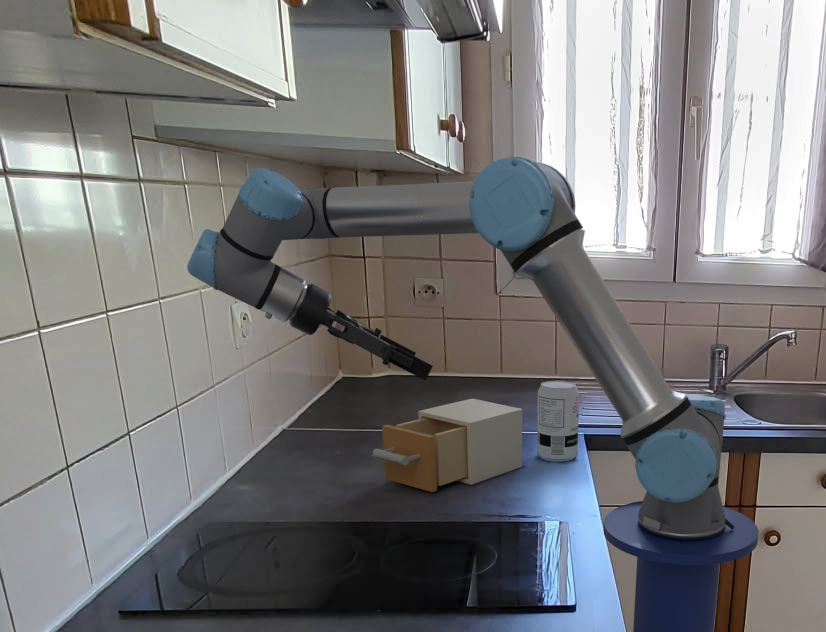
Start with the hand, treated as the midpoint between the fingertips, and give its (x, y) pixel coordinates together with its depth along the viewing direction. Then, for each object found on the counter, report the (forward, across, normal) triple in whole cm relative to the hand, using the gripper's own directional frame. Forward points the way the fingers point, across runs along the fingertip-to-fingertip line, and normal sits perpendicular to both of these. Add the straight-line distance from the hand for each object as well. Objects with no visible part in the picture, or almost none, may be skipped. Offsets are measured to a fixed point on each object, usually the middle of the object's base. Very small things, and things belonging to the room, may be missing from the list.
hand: (420, 365), depth 142 cm
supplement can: (+36, -10, -4) cm, 37 cm away
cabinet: (+19, -7, -14) cm, 24 cm away
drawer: (+10, 0, -18) cm, 20 cm away
